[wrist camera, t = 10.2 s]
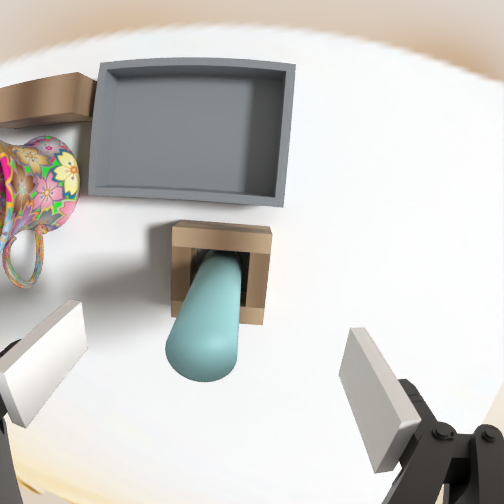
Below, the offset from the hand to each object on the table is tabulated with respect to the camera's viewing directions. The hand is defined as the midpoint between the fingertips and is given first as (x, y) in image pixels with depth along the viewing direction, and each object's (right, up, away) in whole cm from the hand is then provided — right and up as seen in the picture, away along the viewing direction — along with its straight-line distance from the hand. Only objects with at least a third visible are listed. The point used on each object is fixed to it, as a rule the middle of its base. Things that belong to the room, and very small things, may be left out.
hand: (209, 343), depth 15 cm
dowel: (0, +3, +12) cm, 12 cm away
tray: (-3, +13, +9) cm, 16 cm away
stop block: (-15, +17, +8) cm, 24 cm away
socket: (0, +3, +12) cm, 12 cm away
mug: (-16, +9, +10) cm, 21 cm away
